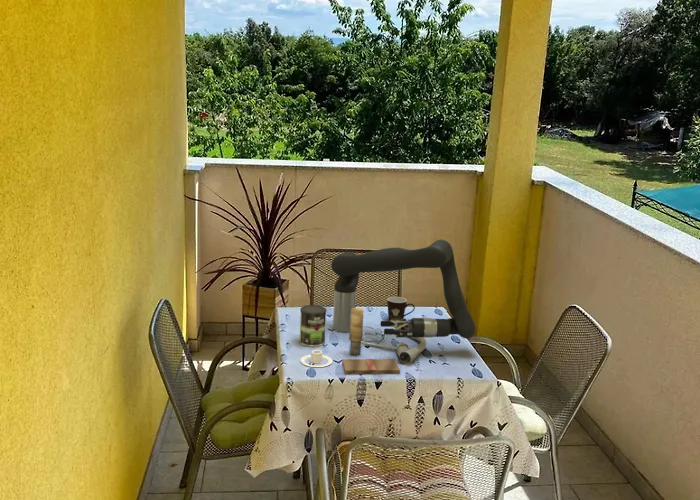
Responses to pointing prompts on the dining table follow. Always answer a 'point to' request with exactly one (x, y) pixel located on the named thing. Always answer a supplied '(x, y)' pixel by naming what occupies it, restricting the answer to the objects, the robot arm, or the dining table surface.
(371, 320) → the dining table surface
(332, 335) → the dining table surface
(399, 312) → the coffee mug
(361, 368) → the board
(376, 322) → the dining table surface
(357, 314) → the tan grey cylinder
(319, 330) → the coffee can
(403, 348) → the faucet
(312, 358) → the candle holder
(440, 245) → the robot arm
